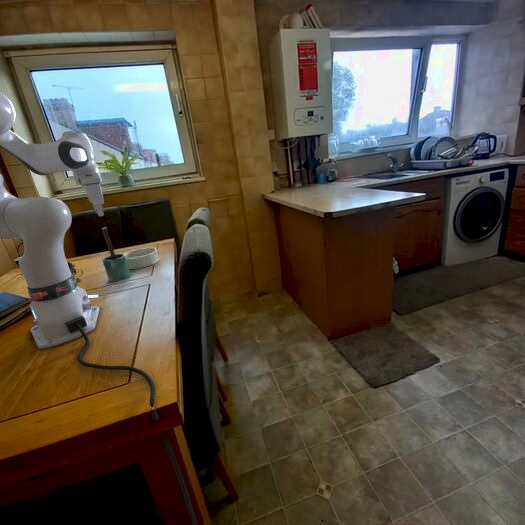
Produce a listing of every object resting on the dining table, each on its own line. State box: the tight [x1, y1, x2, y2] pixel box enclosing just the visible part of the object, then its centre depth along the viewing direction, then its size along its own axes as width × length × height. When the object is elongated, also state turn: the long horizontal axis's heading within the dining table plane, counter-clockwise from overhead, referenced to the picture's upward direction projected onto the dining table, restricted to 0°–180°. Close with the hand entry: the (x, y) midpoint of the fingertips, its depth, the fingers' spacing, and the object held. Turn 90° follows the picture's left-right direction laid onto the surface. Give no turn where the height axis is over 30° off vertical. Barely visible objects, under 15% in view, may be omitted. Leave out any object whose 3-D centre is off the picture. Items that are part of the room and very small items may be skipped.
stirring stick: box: [101, 227, 116, 260], centre depth 117 cm, size 3×3×22 cm
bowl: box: [123, 246, 160, 270], centre depth 135 cm, size 16×16×6 cm
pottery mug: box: [67, 261, 77, 274], centre depth 130 cm, size 12×10×8 cm
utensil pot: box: [101, 253, 131, 283], centre depth 119 cm, size 9×9×10 cm
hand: (100, 214), depth 111 cm, fingers open, 8 cm apart
